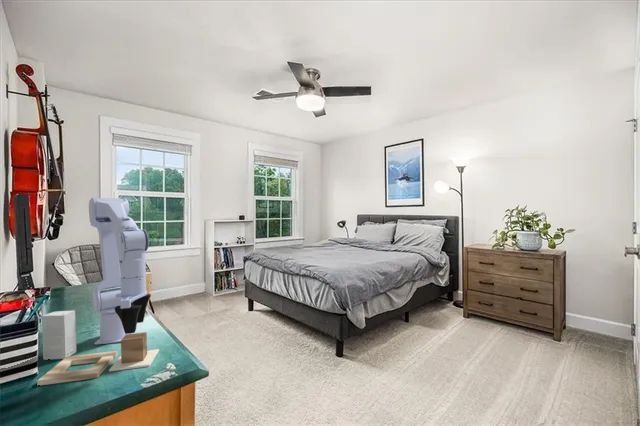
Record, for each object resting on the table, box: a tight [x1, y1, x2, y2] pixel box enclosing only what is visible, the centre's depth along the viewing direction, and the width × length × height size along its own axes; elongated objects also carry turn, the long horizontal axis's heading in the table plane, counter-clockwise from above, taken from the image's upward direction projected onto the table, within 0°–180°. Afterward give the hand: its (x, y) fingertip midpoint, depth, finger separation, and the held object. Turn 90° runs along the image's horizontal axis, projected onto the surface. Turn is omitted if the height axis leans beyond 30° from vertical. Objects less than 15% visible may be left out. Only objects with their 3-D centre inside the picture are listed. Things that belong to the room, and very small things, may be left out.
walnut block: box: [120, 331, 148, 364], centre depth 81 cm, size 4×5×6 cm
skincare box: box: [41, 310, 77, 361], centre depth 85 cm, size 6×4×12 cm
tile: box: [108, 348, 160, 373], centre depth 81 cm, size 9×9×1 cm
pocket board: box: [36, 350, 119, 386], centre depth 77 cm, size 12×12×1 cm
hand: (134, 327), depth 81 cm, fingers open, 7 cm apart
